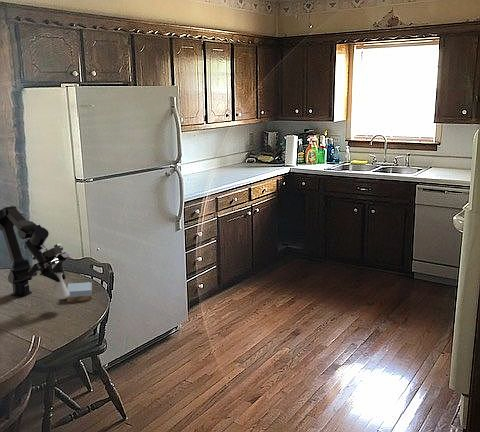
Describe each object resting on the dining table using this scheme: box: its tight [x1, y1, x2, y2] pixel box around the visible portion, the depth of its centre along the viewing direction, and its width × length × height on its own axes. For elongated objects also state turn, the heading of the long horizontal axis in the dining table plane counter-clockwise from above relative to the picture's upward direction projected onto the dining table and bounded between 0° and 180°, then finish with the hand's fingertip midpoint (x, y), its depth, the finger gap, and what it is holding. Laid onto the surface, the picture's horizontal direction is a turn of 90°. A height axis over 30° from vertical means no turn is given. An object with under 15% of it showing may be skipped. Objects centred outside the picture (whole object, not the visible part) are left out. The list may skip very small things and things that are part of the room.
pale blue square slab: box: [67, 281, 93, 297], centre depth 235 cm, size 10×10×2 cm
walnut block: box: [66, 295, 92, 303], centre depth 235 cm, size 10×10×2 cm
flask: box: [51, 273, 70, 301], centre depth 218 cm, size 7×7×10 cm
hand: (62, 280), depth 217 cm, fingers closed on flask, 3 cm apart
